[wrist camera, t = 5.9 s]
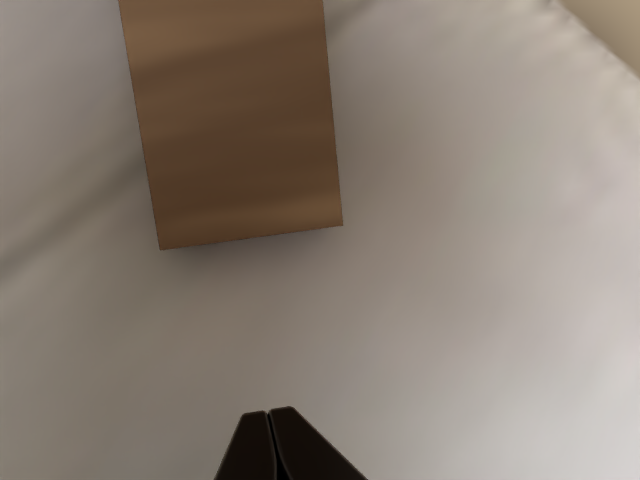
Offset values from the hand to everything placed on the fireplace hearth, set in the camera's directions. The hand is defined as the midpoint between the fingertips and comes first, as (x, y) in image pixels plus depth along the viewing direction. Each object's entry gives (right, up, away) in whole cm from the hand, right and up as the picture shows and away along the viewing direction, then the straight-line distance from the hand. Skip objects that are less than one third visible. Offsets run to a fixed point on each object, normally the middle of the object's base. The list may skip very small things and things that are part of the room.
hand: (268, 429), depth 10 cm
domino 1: (-1, +3, +8) cm, 8 cm away
